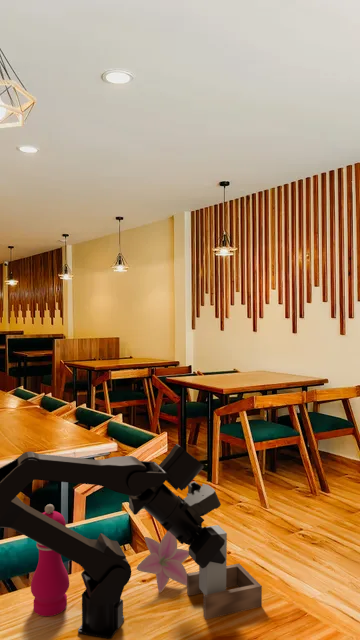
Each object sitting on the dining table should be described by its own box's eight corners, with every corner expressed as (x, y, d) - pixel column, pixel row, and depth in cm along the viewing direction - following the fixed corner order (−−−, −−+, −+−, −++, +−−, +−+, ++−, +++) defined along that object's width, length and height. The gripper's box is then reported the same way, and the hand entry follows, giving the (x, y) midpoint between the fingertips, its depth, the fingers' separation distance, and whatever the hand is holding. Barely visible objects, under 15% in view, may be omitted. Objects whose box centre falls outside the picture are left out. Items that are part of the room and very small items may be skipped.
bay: (205, 619, 97) (205, 598, 97) (187, 593, 106) (187, 573, 106) (261, 606, 101) (261, 586, 101) (239, 582, 110) (239, 563, 110)
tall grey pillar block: (207, 598, 100) (207, 536, 100) (199, 587, 104) (199, 527, 104) (226, 594, 102) (226, 533, 101) (217, 584, 105) (218, 525, 105)
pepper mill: (74, 597, 104) (73, 498, 104) (62, 619, 97) (61, 512, 97) (39, 595, 105) (38, 497, 105) (24, 617, 98) (23, 511, 97)
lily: (127, 596, 107) (141, 564, 103) (132, 549, 118) (145, 519, 114) (182, 610, 108) (198, 579, 105) (183, 562, 119) (197, 533, 115)
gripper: (215, 490, 92) (269, 543, 96) (178, 461, 110) (225, 507, 114) (172, 541, 90) (229, 594, 94) (141, 503, 107) (191, 548, 111)
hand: (219, 556), depth 103 cm, fingers closed on tall grey pillar block, 4 cm apart
